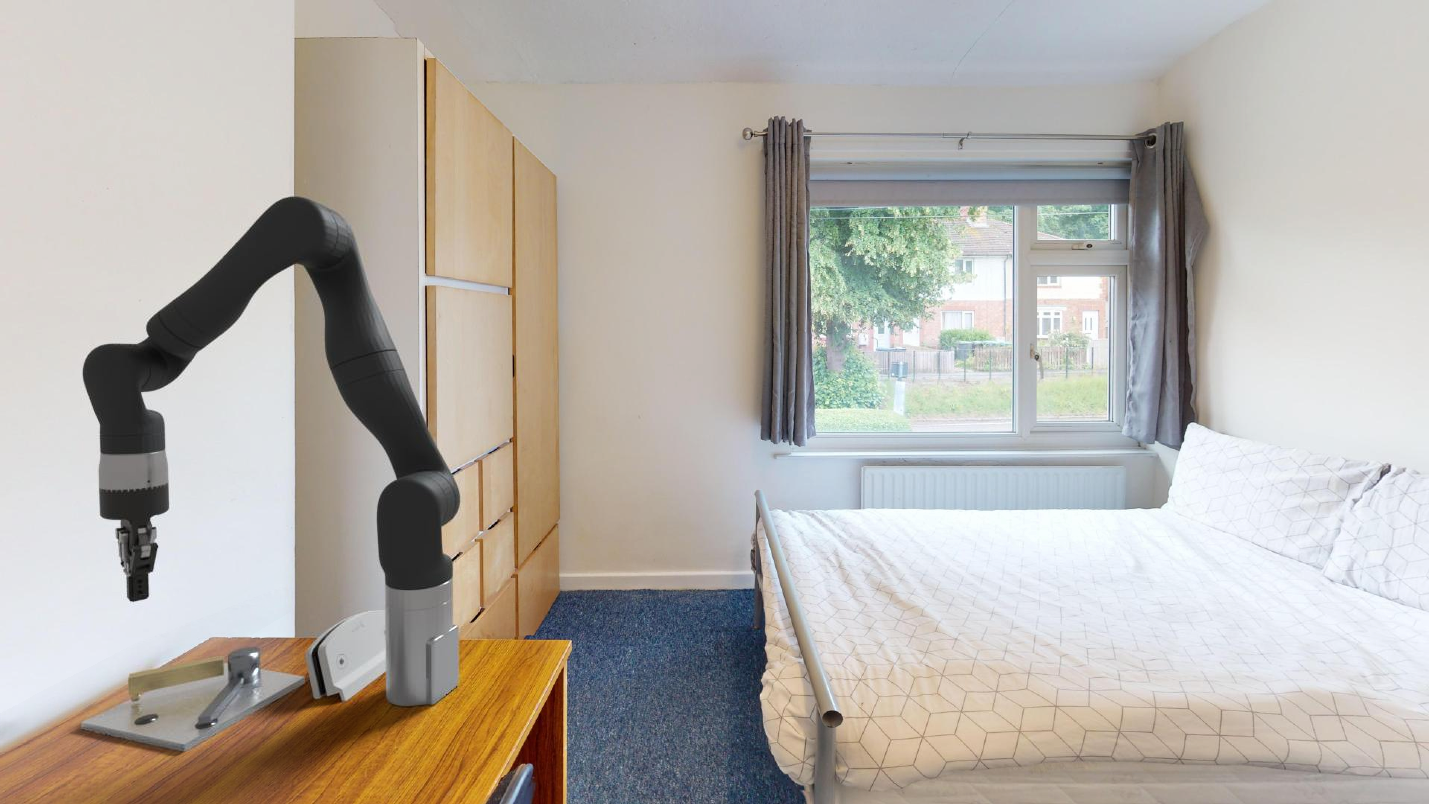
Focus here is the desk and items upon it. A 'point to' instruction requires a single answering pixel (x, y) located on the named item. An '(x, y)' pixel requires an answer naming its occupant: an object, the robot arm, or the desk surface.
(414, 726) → the desk surface
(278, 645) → the desk surface
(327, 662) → the light grey curved piece
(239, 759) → the desk surface
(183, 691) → the mounting plate
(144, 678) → the leg
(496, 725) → the desk surface
